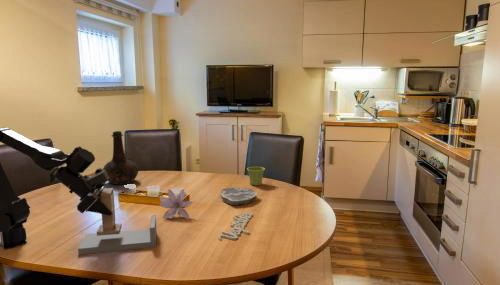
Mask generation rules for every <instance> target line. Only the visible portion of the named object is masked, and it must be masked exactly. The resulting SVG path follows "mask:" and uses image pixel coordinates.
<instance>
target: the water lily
mask: <svg viewBox="0 0 500 285" xmlns="http://www.w3.org/2000/svg"><path fill="white" fill-rule="evenodd" d="M167 195H168V197H169V198H168V197H160V198H159V200H160V203H159V206H160V207H161V208H164V209H168V210H167V211H165V212H164V214H163V216H162V219H163V220H167V219H168V218H169V219H173V218H174V217H175V215H176V214H177V213H179V215H181V216H182V217H184V218H185V219H190V214H189V213H188V211H186V209H185V208H186V207H188V206H191V205H193V204H194V202H193V201H191V200H187V201H184V199H185V196H186V192H185V188H182V189H181V190H180V191H179V193H178V195H177V196H176V195H175V193H174V192H173V190H172V189H168V188H167Z"/></svg>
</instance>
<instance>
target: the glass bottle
mask: <svg viewBox="0 0 500 285" xmlns="http://www.w3.org/2000/svg"><path fill="white" fill-rule="evenodd" d="M123 136H124V134H122V131H118V130H116V131H113V132H112V135H111V137H112V139H113V140H112V141H113V142H112V143H113V144H112V146H113V147H112V158H111V160H110V161H108V162H107V163H106V164H104V166H103V168H102V169H103V170H104V169H105V171H107V174H108V176H109V179H108V181H107V182H108V183H110V184H113V185H126V184H129V183H132V182H133V181H134V180H135V179H136V178H137V176H138V174H139V167H138V164H137V163H136V162H135V161H134V160H133V159H131V158H127V156H126V153H125V150H124V144H123V143H124V142H123Z"/></svg>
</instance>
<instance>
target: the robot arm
mask: <svg viewBox="0 0 500 285" xmlns="http://www.w3.org/2000/svg"><path fill="white" fill-rule="evenodd" d="M0 143H1V144H3V145H5V146H8V147H10V148H12V149H13V150H15V151H17V152H18V153H21V154H23V155H24V156H27V157H29V158H30V159H31V160H32V162H33V163H34V164H35V165H36V166H37V167H39V168H40V169H42V170H43V171H44V172H45V171H47V172H48V171H51V170H55V169H57V168H58V169H57V170H56V171H52V172H50V173H49V174H48V176H49V183H50V184H51V183H53V182H55V181H56V180H57V181H58V182H59V183H61V184H62V185H63V186H64V187H66V188H68V190H69V191H68V193H70V194H71V195H72V194H75V195H77V197H79V203H78V204H77V205H76V210H77V211H78V212H79V213H80V214H84V213H85V212H86V213H88V212H90V213H95V214H100V215H102V214H104V215H109V216H110V215H111V214H112V212H111V211H110V210H109V209H108V208H107V207H106V206H105V205H104V204H103V203H102V202H101V193H102V191H103V189H105V188H107V186H106V183H107V182H108V179H109V176H108V174H107V171H105V169H104V170H103V168H101V167H99V168H96V170H94V174H93V175H90V176H89V175H87V174H85V175H82V173H85V171H86V170H87V169H88V168H89V167H90V166H91V165H92V164H93V163H94V162H95V161H96V157H95V154H93V152H92V151H89V150H88V149H85V148H83V147H81V146H80V145H79V146H76V147H75V148H74V149H73V150H72V152H70V154H69V153H66V152H64V151H62V150H60V149H58V148H56V147H55V148H54V147H52V146H51V147H50V146H45V145H41V144H39V143H36V142H35V141H33V140H31V139H29V138H27V137H25V136H23V135H22V134H19V133H17V132H16V131H13V130H12V129H11V128H10V127H6V126H4V127H0ZM63 165H65V166H63ZM10 182H11V181H10V180H9V179H8V176H7V174H6V172H5V169H4V168H3V166H2V164H1V162H0V246H1V247H2V248H3V249H4V250H9V249H12V248H16V247H19V246H23V245H26V244H27V243H28V242H27V232H26V228H25V227H24V224H25V223H27V222H28V221H27V220H28V218H29V216H30V214H31V210H30V209H31V206H30V205H29V204H28V201H27V198H25V197H22V198H20V197H19V196H18V195H16V193H15V191H14V189H13V186H12V184H11V183H10Z"/></svg>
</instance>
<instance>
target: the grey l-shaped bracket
mask: <svg viewBox="0 0 500 285" xmlns="http://www.w3.org/2000/svg"><path fill="white" fill-rule="evenodd" d="M157 234H158V233H157V215H156V214H155V215H152V214H151V215H150V223H149V228H143V229H141V228H140V229H131V230H120V233H119V234H113V235H101V236H97V232H96V233H86V234H85V235H84V237H83V239H82V241H81V242H80V244H79V246H78V248H77V253H78V255H79V256H80V255H88V254H97V253H98V254H99V253H108V252H119V251H121V252H122V251H128V250H129V251H130V250H138V249H149V248H156V247H157V246H156V245H157Z"/></svg>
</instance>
